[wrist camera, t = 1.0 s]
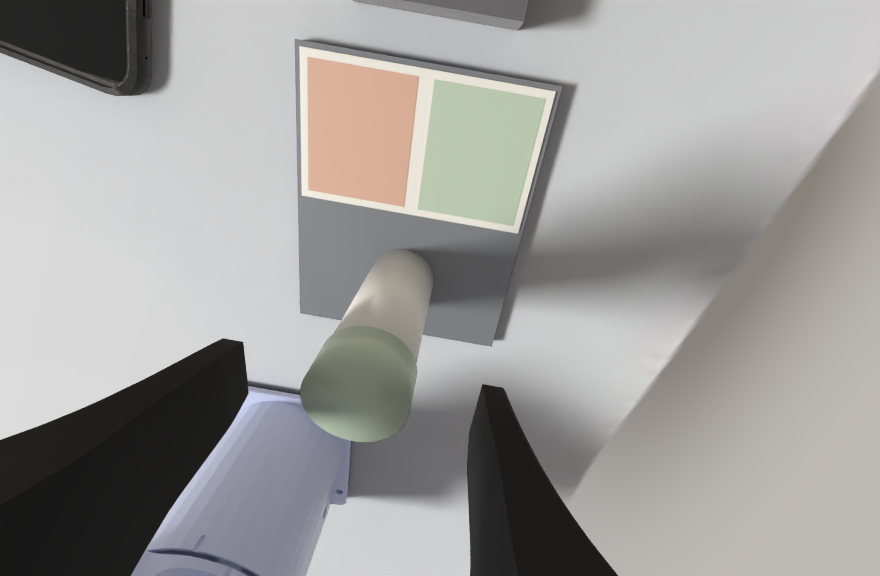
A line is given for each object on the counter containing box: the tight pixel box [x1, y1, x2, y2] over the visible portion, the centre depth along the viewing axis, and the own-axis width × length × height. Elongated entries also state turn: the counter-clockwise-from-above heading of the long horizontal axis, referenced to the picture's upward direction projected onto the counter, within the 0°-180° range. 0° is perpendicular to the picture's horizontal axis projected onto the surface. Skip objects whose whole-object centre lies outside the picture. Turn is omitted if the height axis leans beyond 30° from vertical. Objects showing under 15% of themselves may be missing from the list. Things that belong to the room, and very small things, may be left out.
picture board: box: [295, 39, 562, 347], centre depth 17 cm, size 12×10×1 cm
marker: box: [300, 249, 434, 442], centre depth 15 cm, size 3×3×8 cm
